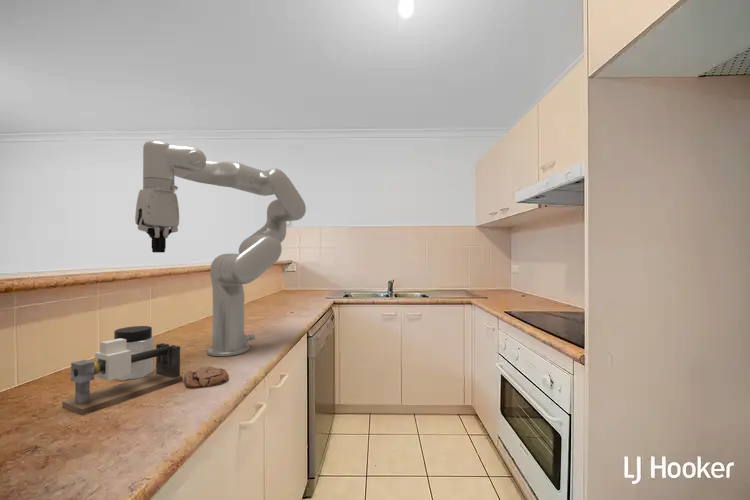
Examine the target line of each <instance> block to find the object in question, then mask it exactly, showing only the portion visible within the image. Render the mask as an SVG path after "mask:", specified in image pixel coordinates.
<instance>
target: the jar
mask: <svg viewBox="0 0 750 500" xmlns="http://www.w3.org/2000/svg"><path fill="white" fill-rule="evenodd" d="M152 329H153V327H152V326H148V325H135V326H134V325H133V326H127V327H121V328H118V329H116V330H114V336H113V337H114V338H113V340H114V339H119V338H122V339H126V350H130V351H131V355H133V354H137V353H142V352H146V351H150V350H154V349H155V348H154V347H155V346H154V345H155V340H154V338H155V337H154V336H153V335H152V334H153V330H152ZM154 358H155V357H153V358H149V359H145V360H141V361H138V362H134V363H131V374H130V375H126V376H123V377H119V378H116V379H115V380H119V381H122V382H124V381H125V382H126V381H132V380H135V379H138V378H142V377H145V376H148V375H151V374H153V372H154V363H155V362H154Z"/></svg>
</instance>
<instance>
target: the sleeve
mask: <svg viewBox="0 0 750 500" xmlns="http://www.w3.org/2000/svg"><path fill="white" fill-rule="evenodd" d="M95 361H97V362H98V363H100V362H104V361H106V370H103V371H100V372H99V374H96V375H94V378H99V379H100V380H101V379H102V380H105V381H111V380H117V379H116V378H119V377H123V376H126V375H130V374H131V351H130V350H126V339H122V338H119V339H114V338H113V339H110V340H104V341H100V342H99V351H96V352H95V353H94V362H95Z"/></svg>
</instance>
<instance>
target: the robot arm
mask: <svg viewBox="0 0 750 500" xmlns="http://www.w3.org/2000/svg"><path fill="white" fill-rule="evenodd" d="M142 147H143V150H142V154H143V155H142V159H143V160H142V164H143V165H142V168H143V169H142V189H139V192H138V196H137V199H136V207H135V217H134V218H135V224H136V225H137V229H138V231H141V232H145V233H146V234H147V235H148V236H149V238H150V239H151V249H152V250H151V252H152V253H165V252H166V247H167V245H166V239H168V238H169V235H170V234H172V233H177V232H179V229H178V227H179V225H180V208H179V201H178V197H177V193H175V192H176V191H178V189H179V188H178V186H177V185H175V184H176V183H175V177H177V178H180V179H183V180H187V181H192V182H195V183H198V184H199V183H201V184H204V185H205V184H206V185H210V186H211V185H212V186H218V187H224V188H225V187H226V188H232V189H235V190H239V191H243V192H247V193H249V194H254V195H258V196H264V197H265V196H266V197H267V196H272V195H273V196H275V198H276V199H275V200H273V201H271V202H270V203H269V204H268V206H267V209H266V223H265V224H264V225H263V226H261V228H260V229H258V230H256V231H255V232H254V233H252V234H251V235H250V236H248V237H247V238H245V239H244V240H243V241H242V242H241V243H240V245H239V247H238V253H223V254H219V255H218V256H216V257H215V258H214V260H212V262H211V264H210V269H209V270H210V271H209V273H210V281H211V286H212V287H211V288H212V334H211V335H212V339H211V340H212V341H211V342H212V346H210V347H208V348H207V350H206V354H207V355H209V356H213V357H230V356H237V355H241V354H244V353H246V352H248V351H249V350H250V345H249V344H247V343H248V342H249V341H250V342H251V341H252V340H255V338H256V335H255V334H254V333H251V334H248V335H247V334H245V289H244V286H243V285H247V284H250V283H252V282H254V281H255V280H256V279H258V278H259V277H260V276H261V275H263V274H264V273H265V272H266V271H267V270H269V269H270V268H271V267H272V266H273V265H274V264H275V263H276V262H278V260H279V259H280V257H281V255H282V248H283V247H282V243H283V241H284V240H285V238H286V236H287V222H292V221H293V222H294V221H299V220H301V219H303V217H304V216H305V215H306V211H307V208H306V203H305V201H304V199H303V198H302V196H301V194H300V193H299V191H298V189H297V188H296V186H295V185H294V184H293V182H292V181H291V179H290V178H289V177H288V175H287V174H285V172H284V171H282V170H281V169H279V168H271V169H270V168H269V169H268V170H261V169H258V168H255V167H253V166H249V165H246V164H243V163H241V162H237V161H208V160H207V157H206V155H205V153H204V152H203V151H202V150H201V149H199V148H197V147H194V146H189V145H177V144H170V143H167V142H164V141H159V140H149V141H146V142H144V144H143V146H142Z"/></svg>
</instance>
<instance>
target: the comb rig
mask: <svg viewBox="0 0 750 500" xmlns="http://www.w3.org/2000/svg"><path fill="white" fill-rule="evenodd" d="M155 346H156V347H155V348H154V350H150V351H146V352H142V353H137V354H133V355H131V363H134V362H138V361H141V360H145V359H149V358H153V357H154V358H155V373H151V374H148V375H147V376H145V377H142V378H137V379H131V380H127V381H125V382H122V383H119V384H116V385H112V386H109V387H106V388H103V389H100V390H99V389H98V390H96V391H92V392H91V391H90V390H91V388H90V387H91V385H90V381H93V380H95V375H96V374H99V372H100V371H103V370H106V361H104V362H100V363H98V362H97V361H95V360H94V361H92V360H87V359H82V360H78V361H73V362H70V363H71V364H70V367H71V369H70V373H71V374H70V381H71V382H75V383H74V384H75V385H74V386H75V391H74V394H75V396H74V397H72V398H69V399H65V400H62V405H61V407H62V408H63V409H66V410H68V411H71V412H74V413H76V414H78V415H82V416H85V415H87V414H90V413H94V412H96V411H99V410H102V409H105V408H107V407H111V406H113V405H117V404H119V403H122V402H125V401H128V400H131V399H134V398H137V397H140V396H143V395H146V394H149V393H152V392H155V391H157V390H160V389H163V388H165V387H166V388H167V387H168V386H171V385H174V384H177V383H180V382H184V380H183V379H184V376H183V375H181V346H179V345H174V344H173V345H169V343H164V342H162V343H158V344H157V343H156V345H155Z"/></svg>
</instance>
